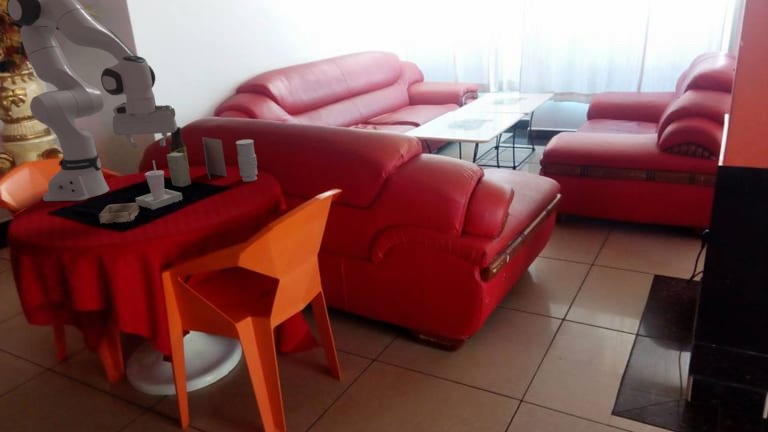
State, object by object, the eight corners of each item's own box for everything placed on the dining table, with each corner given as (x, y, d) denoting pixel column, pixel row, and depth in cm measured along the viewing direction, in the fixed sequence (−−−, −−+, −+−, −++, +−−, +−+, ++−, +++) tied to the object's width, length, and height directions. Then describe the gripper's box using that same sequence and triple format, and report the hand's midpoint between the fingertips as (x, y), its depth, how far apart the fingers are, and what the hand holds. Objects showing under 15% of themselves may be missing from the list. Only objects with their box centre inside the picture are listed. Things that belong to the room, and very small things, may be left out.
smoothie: (162, 202, 208) (155, 163, 203) (146, 201, 209) (138, 163, 204) (172, 196, 214) (165, 158, 209) (155, 195, 215) (148, 158, 210)
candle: (256, 181, 231) (251, 143, 225) (238, 182, 231) (233, 144, 226) (260, 176, 237) (255, 139, 232) (242, 176, 237) (237, 139, 232)
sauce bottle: (181, 178, 239) (172, 129, 232) (170, 176, 242) (162, 128, 235) (193, 174, 244) (185, 126, 237) (183, 172, 247) (175, 125, 240)
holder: (100, 223, 194) (98, 215, 193) (109, 213, 203) (107, 205, 202) (132, 221, 195) (130, 212, 194) (139, 210, 204) (137, 202, 203)
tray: (152, 209, 205) (151, 202, 204) (136, 204, 210) (135, 198, 210) (182, 199, 214) (181, 193, 213) (166, 195, 219) (165, 188, 218)
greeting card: (205, 173, 245) (199, 137, 239) (223, 170, 247) (218, 135, 242) (208, 180, 235) (202, 143, 229) (227, 177, 237) (222, 140, 232)
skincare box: (191, 184, 231) (186, 153, 227) (182, 187, 228) (177, 156, 223) (180, 182, 234) (175, 151, 230) (171, 185, 231) (166, 154, 227)
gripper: (175, 103, 204) (181, 142, 209) (113, 105, 202) (120, 145, 207) (172, 106, 198) (178, 147, 203) (107, 109, 196) (115, 150, 201)
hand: (148, 146), depth 205 cm, fingers open, 8 cm apart
